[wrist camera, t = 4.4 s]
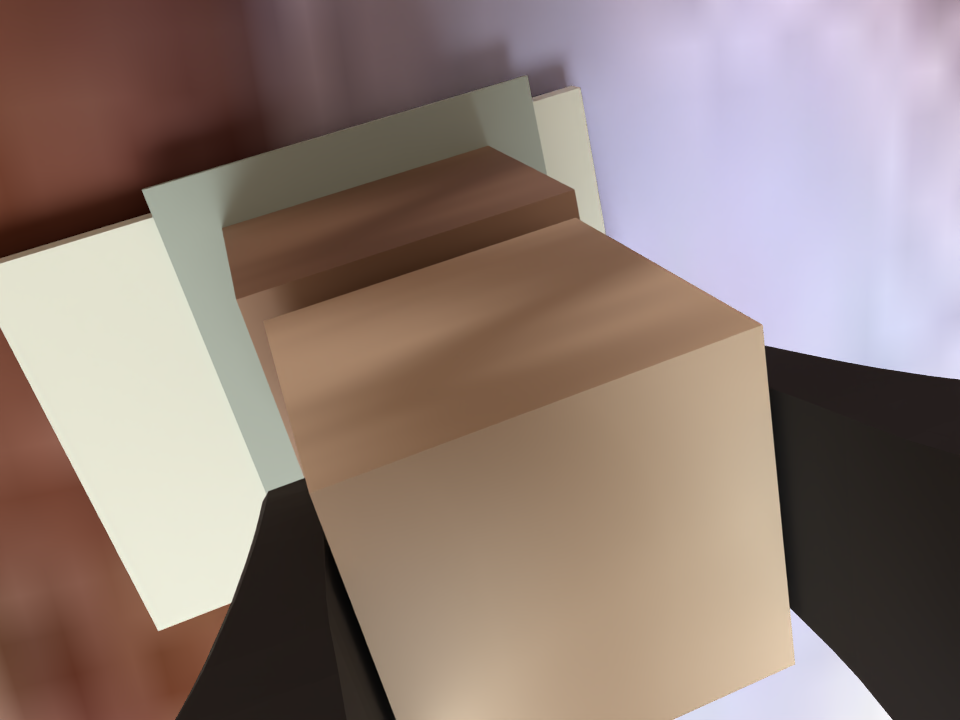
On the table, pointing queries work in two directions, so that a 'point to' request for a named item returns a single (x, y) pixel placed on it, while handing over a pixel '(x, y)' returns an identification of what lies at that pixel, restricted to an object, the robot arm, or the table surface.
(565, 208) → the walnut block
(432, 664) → the maple cube
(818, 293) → the table surface
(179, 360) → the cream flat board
